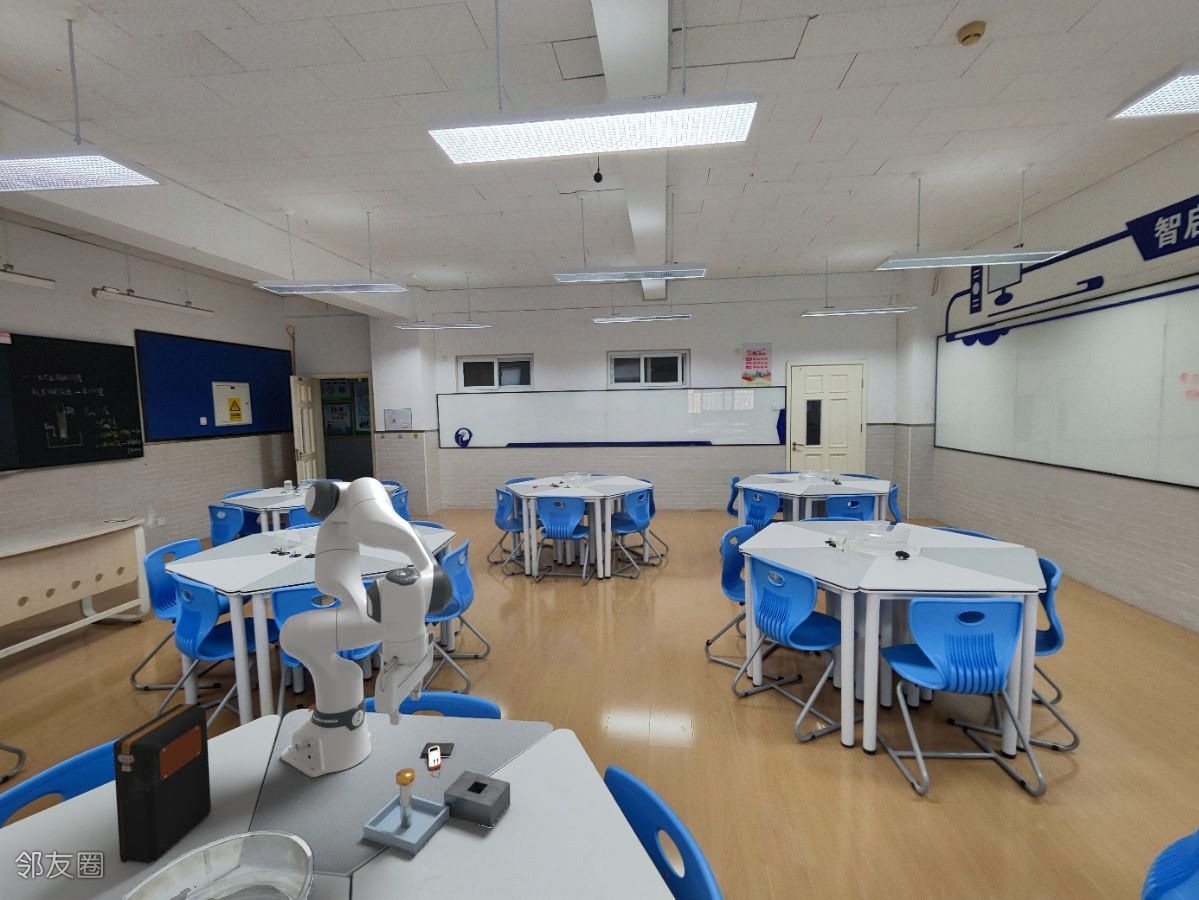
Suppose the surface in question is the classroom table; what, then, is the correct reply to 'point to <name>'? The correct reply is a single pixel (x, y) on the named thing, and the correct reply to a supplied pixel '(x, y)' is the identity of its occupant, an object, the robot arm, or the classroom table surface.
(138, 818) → the black case
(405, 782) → the pin
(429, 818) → the tray
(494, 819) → the block
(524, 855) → the classroom table surface
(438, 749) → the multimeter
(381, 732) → the classroom table surface
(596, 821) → the classroom table surface
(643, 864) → the classroom table surface
